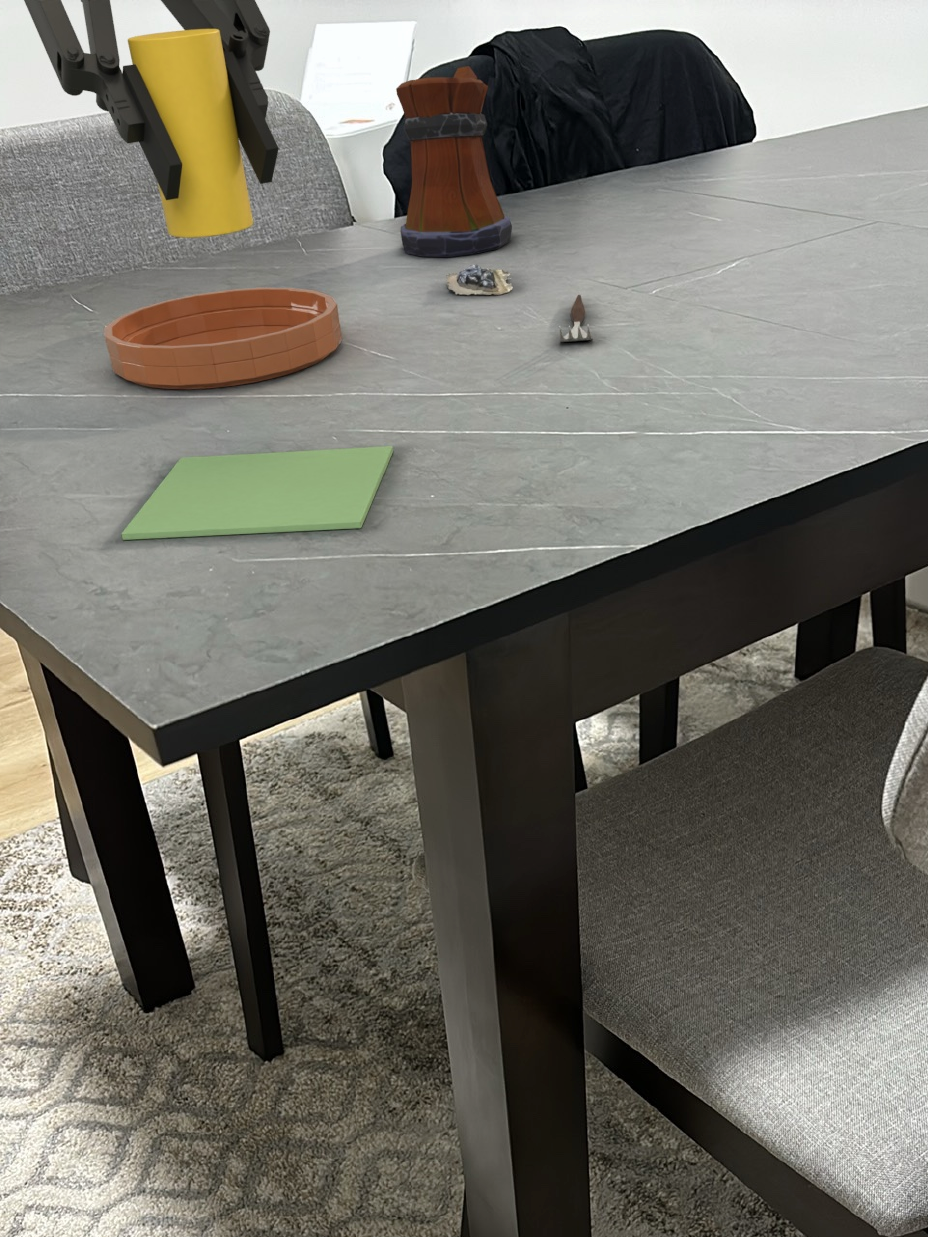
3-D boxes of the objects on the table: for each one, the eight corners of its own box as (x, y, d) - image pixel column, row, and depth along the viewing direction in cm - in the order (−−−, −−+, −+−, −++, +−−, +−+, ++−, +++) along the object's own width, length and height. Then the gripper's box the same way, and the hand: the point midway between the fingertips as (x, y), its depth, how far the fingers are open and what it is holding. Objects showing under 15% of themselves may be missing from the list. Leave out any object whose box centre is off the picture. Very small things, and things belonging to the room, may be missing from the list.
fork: (595, 300, 114) (594, 275, 112) (592, 352, 101) (591, 324, 100) (564, 302, 114) (563, 277, 113) (557, 354, 101) (556, 326, 100)
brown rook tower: (427, 224, 147) (410, 62, 137) (531, 218, 145) (520, 53, 135) (389, 261, 133) (367, 83, 123) (503, 255, 131) (489, 74, 121)
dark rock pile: (496, 272, 125) (494, 250, 124) (537, 287, 119) (536, 263, 118) (431, 286, 123) (428, 263, 121) (470, 301, 117) (468, 277, 116)
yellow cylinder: (158, 240, 80) (115, 41, 74) (180, 223, 84) (141, 33, 78) (243, 234, 80) (207, 34, 74) (261, 217, 84) (228, 26, 78)
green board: (122, 540, 77) (120, 533, 77) (182, 463, 87) (180, 457, 87) (361, 528, 76) (360, 521, 76) (393, 451, 86) (392, 445, 86)
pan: (84, 398, 101) (72, 354, 99) (151, 335, 116) (142, 295, 114) (319, 384, 100) (312, 338, 98) (358, 321, 114) (352, 281, 112)
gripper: (199, -120, 86) (350, 194, 84) (-91, -97, 79) (68, 246, 78) (212, -239, 79) (376, 101, 78) (-105, -226, 72) (69, 149, 71)
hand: (222, 173), depth 78 cm, fingers closed on yellow cylinder, 5 cm apart
